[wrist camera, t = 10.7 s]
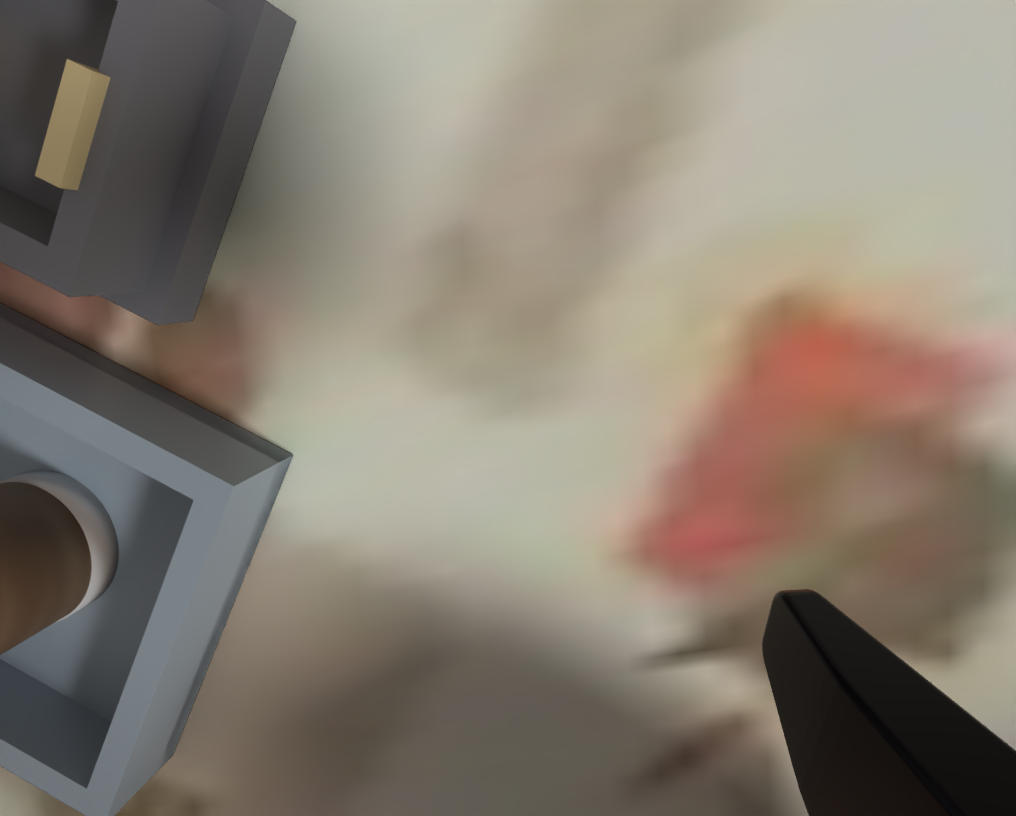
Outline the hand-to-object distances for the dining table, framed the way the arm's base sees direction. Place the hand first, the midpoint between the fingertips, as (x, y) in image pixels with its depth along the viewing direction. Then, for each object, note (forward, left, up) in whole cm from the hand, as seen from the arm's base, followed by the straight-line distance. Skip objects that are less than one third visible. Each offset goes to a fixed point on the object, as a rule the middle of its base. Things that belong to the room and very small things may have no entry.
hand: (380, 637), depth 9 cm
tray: (-2, +14, -11) cm, 18 cm away
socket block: (+9, +10, -11) cm, 18 cm away
